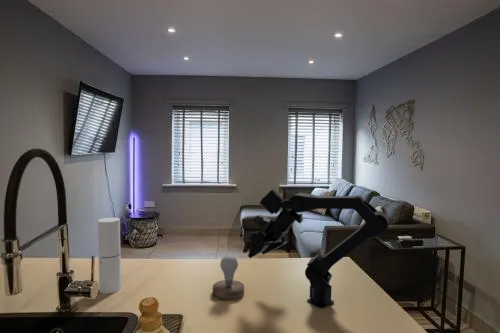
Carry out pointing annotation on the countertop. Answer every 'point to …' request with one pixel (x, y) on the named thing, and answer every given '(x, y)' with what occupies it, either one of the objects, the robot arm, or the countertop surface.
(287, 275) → the countertop surface
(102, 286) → the cylindrical container
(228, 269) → the lightbulb
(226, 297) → the walnut base
